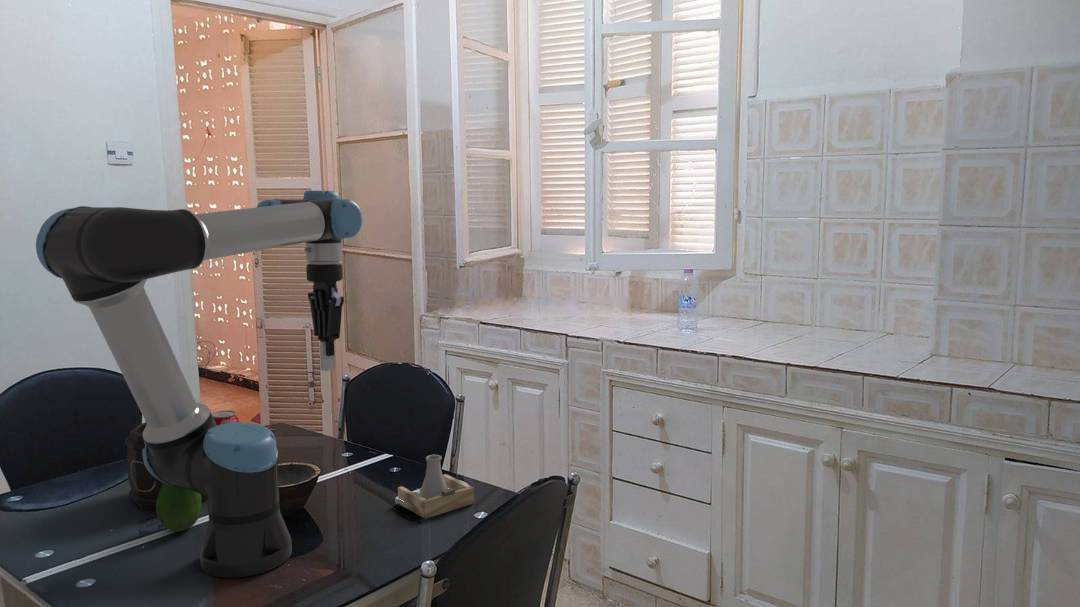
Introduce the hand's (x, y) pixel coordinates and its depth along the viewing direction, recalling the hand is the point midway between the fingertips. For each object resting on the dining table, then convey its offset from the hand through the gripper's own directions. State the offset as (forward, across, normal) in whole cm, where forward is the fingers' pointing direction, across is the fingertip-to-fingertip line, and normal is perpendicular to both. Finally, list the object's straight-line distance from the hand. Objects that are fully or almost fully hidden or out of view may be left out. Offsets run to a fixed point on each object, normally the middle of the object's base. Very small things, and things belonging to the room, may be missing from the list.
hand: (328, 369), depth 166 cm
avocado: (+27, +3, -33) cm, 42 cm away
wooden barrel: (+27, -15, -28) cm, 42 cm away
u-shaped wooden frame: (+26, +24, +12) cm, 37 cm away
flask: (+27, +24, +12) cm, 38 cm away
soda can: (+27, -32, -13) cm, 43 cm away
